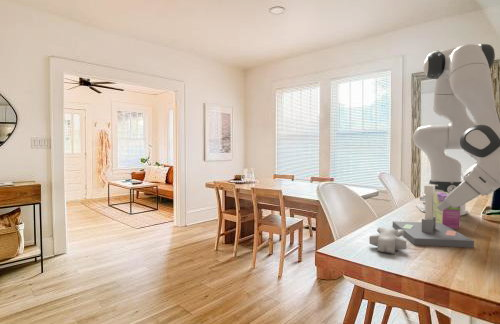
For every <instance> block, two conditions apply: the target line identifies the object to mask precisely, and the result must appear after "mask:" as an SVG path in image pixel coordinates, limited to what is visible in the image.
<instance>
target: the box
mask: <svg viewBox="0 0 500 324" xmlns="http://www.w3.org/2000/svg"><path fill="white" fill-rule="evenodd" d="M448 194H449V193H448V192H436V191H435V193H434V194H433V216H435V217H436V223H441V224H443V225H445V226H447V227H449V228H451V229H453V230H454V229H455V230H457V229H458V230H460V220H461V219H460V217H461V215H460V206H459V207H457V208H452V207H451V206H450V207H448V208H446V209H444V210H443V211H439V210H438V209H437V206H438V205H439V204H441V203H442V202H443V201H444V200H445V198H446V197H447V196H448Z"/></svg>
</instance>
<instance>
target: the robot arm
mask: <svg viewBox="0 0 500 324" xmlns="http://www.w3.org/2000/svg"><path fill="white" fill-rule="evenodd" d="M495 53H496V52H495V49H494V47H493V46H492V45H491V44H487V43H478V44H474V43H473V44H472V43H467V44H463V45H461V46H457V47H451V48H446V49H442V50H435V51H432V52H431V53H429V54H428V55H426V57H425V60H424V62H423V72H424V75H425V76H426V77H427V79H431V80H435V83H434V90H433V91H434V92H433V106H432V107H433V108H432V109H433V112H434V114H436V115H437V116H439V117H442V118H444V119H447V120H448V121H449V123H448V124H428V125H422V126H418V127H417V128H416V129H415V131H414V132H413V135H412V141H413V143H414V145H415V146H416V148H418V149H419V150H421V151H422V152H423V153H424V154H425V156H427V159H428V161H429V164H430V179H429V181H428V184H430V185H435V191H436V192H448V193H449V194H448V196H447V197H446V198H445V200H444V201H443V202H442V203H441V204H439V205H438V206H437V209H438V210H439V211H443V210H444V209H446V208H448V207H450V206H451V207H452V208H457V207H459V206H460V216H465V215H466V214H468V215H469V210H467V209H466V204H467V203H468V202H470V201H472V200H475V199H476V198H479V196H482V197H483V196H489V195H490V194H492V193H493V192H495V191H496V190H498V189H499V188H500V116H499V114H498V113H499V112H498V110H497V106H496V105H497V104H496V101H495V100H496V99H495V93H494V89H493V80H492V73H491V69H492V67H493V65H494V64H495V61H496V60H495V59H496V54H495ZM467 111H468V112H469V113H470V114H471V116H472V117H473V120H474V121H473V120H472V119H471V118H470V117H469V115H468V112H467ZM446 150H463V152H464V153H466V154H467V155H469V156H470V157H471V158H472V159H474V160H475V161H476V162H475V163H473V164H472V165H471V166H469V167H468V168H467V169H466V170H464V171H463V172H462V164H461V162H460V161H458V160H457V159H456V158H453V157H451V156H449V155H447V154H446V153H445V151H446ZM419 201H420V202H421V203H415V206H416V208H417V209H418V210H420V212H422V213H425V202H426V194H424V193H422V195H420V196H419Z"/></svg>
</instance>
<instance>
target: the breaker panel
mask: <svg viewBox="0 0 500 324" xmlns="http://www.w3.org/2000/svg"><path fill="white" fill-rule="evenodd" d="M433 220H434V221H435V225H434V227H433ZM433 220H429V219H425V218H421V222H420V221H419V222H418V221H392V228H393V229H394V230H399V229H401V230H404V232H405V235H403V236H402V237H404V238H405V239H407V240H408V241H409V242H410V243H411V244H413V245H414V246H427V247H429V246H432V247H433V246H434V247H448V248H449V247H452V248H453V247H454V248H469V249H470V248H472V249H473V248H475V240H473V239H472V238H470V237H467V236H466V235H464V234H462V233H460V232H458V231H456V229H455V230H454V229H451V228H449V227H447V226H445V225H443V224H441V223H436V217H435V216H433Z"/></svg>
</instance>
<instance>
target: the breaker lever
mask: <svg viewBox="0 0 500 324" xmlns="http://www.w3.org/2000/svg"><path fill="white" fill-rule="evenodd" d="M423 186H424V189H423V194H426V202H425V212H424V213H425V214H424V219H429V220H433V194H434V193H435V185H430V184H429V183H428V184H424V185H423ZM434 225H435V221H434V220H433V227H434Z"/></svg>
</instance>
